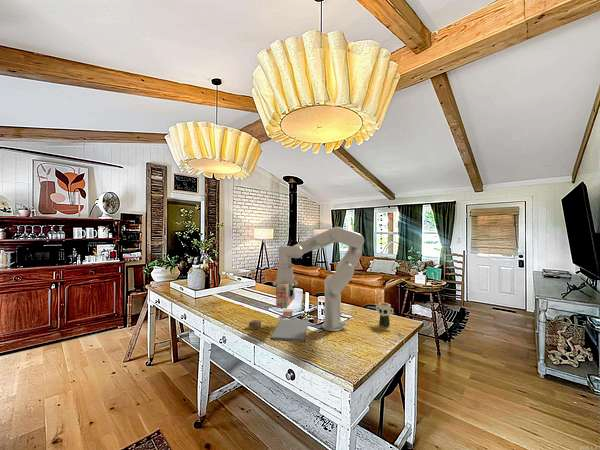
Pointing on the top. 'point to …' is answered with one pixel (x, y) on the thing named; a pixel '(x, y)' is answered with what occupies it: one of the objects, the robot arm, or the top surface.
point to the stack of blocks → (283, 295)
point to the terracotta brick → (287, 313)
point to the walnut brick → (254, 324)
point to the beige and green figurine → (384, 313)
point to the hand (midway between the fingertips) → (285, 295)
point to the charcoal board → (291, 330)
